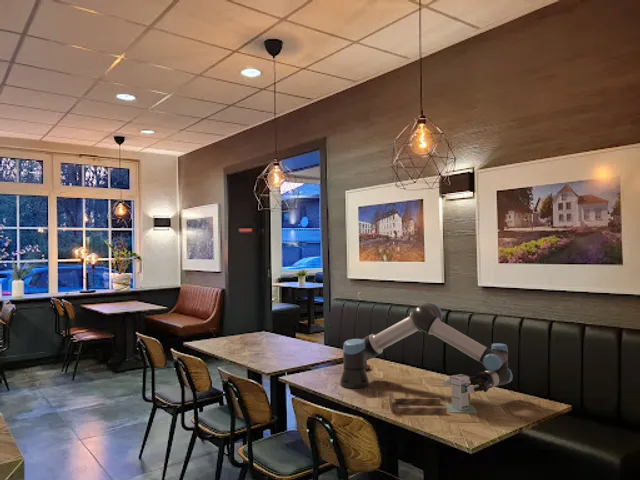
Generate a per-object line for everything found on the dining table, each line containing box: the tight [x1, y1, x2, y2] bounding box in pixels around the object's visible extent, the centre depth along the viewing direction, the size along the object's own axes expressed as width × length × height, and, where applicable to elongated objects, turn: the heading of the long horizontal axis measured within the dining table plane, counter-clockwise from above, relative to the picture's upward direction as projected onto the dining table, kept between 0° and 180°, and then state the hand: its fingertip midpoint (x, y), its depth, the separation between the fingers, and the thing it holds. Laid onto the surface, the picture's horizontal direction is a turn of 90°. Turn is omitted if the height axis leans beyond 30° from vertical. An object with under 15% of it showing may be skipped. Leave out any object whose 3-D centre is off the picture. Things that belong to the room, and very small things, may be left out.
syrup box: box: [450, 373, 471, 410], centre depth 223 cm, size 6×6×14 cm
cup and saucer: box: [365, 360, 371, 371], centre depth 300 cm, size 12×12×6 cm
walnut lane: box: [388, 391, 448, 415], centre depth 224 cm, size 24×15×5 cm, turn 87°
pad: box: [444, 403, 479, 414], centre depth 223 cm, size 12×12×1 cm
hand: (455, 386), depth 222 cm, fingers open, 13 cm apart
